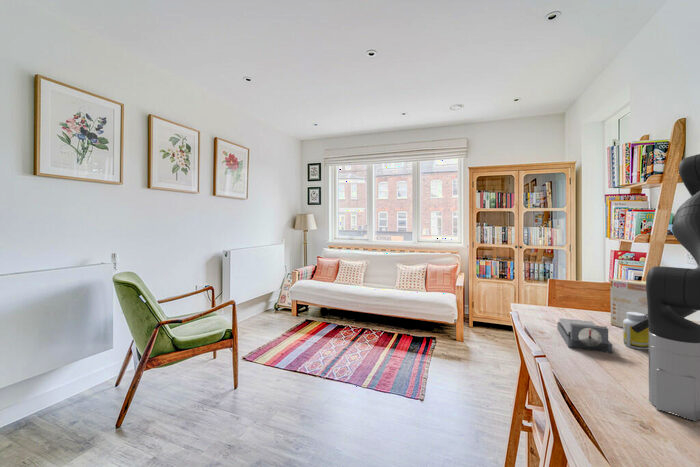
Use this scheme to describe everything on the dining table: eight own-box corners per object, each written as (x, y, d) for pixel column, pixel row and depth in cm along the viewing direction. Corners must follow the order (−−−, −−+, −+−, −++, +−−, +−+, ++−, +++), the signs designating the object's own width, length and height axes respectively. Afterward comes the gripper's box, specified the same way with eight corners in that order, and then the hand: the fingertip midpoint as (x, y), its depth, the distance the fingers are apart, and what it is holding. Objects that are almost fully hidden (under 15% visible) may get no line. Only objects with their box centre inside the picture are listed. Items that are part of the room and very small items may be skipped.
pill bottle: (654, 350, 100) (654, 316, 100) (631, 349, 101) (631, 316, 101) (639, 343, 106) (639, 311, 106) (618, 342, 108) (618, 310, 108)
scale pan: (606, 339, 102) (606, 335, 102) (568, 334, 107) (568, 331, 107) (592, 324, 117) (592, 321, 117) (559, 321, 122) (559, 318, 122)
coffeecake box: (666, 333, 115) (666, 283, 114) (656, 336, 112) (656, 285, 112) (619, 322, 129) (619, 277, 128) (609, 324, 126) (609, 279, 125)
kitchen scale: (612, 353, 99) (612, 330, 98) (568, 348, 104) (568, 325, 104) (593, 333, 117) (593, 313, 117) (557, 329, 122) (557, 310, 122)
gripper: (674, 287, 101) (628, 313, 110) (671, 294, 92) (622, 322, 101) (698, 306, 97) (649, 331, 106) (697, 315, 88) (644, 342, 97)
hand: (636, 327), depth 104 cm, fingers open, 8 cm apart
